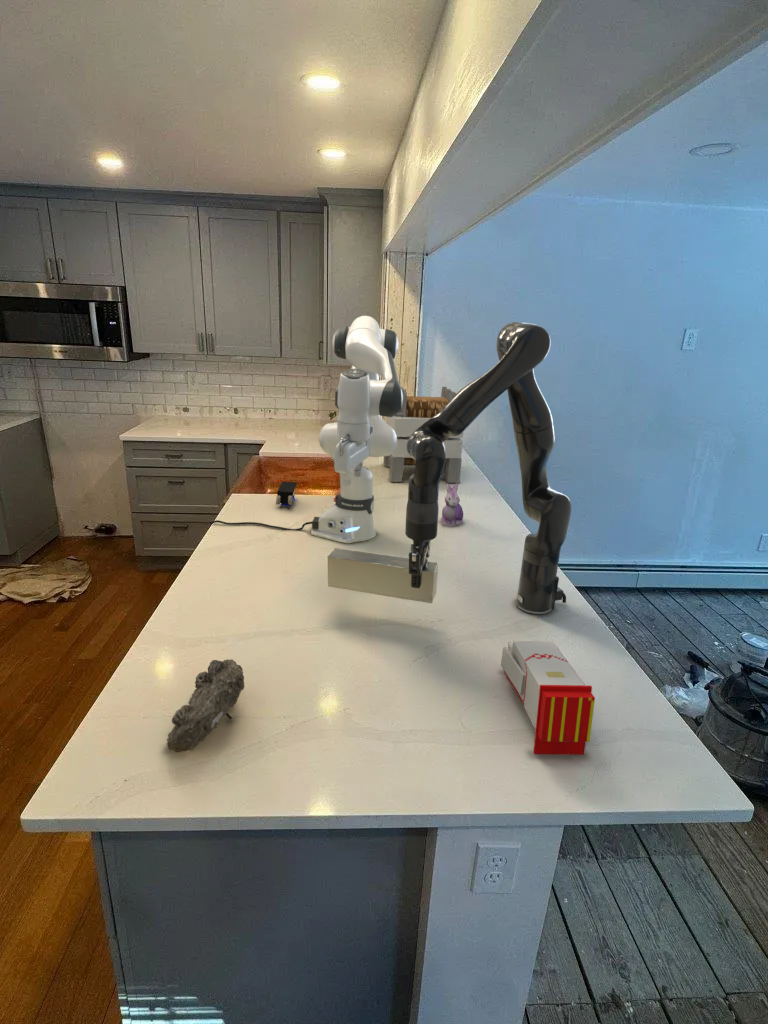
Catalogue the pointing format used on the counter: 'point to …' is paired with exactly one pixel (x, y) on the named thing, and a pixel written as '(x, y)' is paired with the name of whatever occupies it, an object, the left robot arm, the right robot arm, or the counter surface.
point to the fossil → (206, 705)
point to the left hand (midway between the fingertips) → (352, 480)
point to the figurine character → (286, 494)
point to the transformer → (408, 421)
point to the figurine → (452, 507)
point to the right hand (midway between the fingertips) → (418, 581)
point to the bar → (380, 575)
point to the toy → (550, 696)
